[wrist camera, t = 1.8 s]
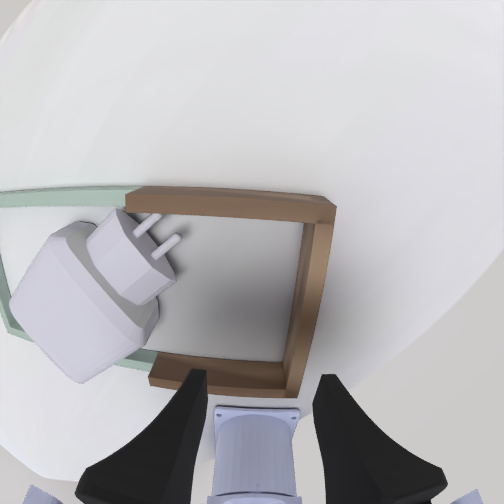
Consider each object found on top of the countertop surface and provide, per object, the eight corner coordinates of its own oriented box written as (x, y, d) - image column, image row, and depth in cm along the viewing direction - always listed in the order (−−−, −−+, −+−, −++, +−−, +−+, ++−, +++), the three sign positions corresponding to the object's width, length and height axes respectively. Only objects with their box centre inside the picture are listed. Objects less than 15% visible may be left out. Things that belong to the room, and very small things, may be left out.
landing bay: (159, 360, 21) (155, 372, 20) (15, 325, 21) (8, 332, 20) (145, 186, 17) (135, 189, 15) (-14, 193, 16) (-25, 197, 15)
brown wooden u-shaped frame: (293, 371, 22) (297, 398, 19) (159, 360, 21) (150, 385, 19) (323, 196, 17) (336, 206, 14) (145, 186, 17) (125, 194, 14)
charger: (225, 268, 19) (101, 354, 22) (137, 159, 16) (35, 279, 20) (216, 304, 14) (80, 389, 18) (101, 164, 12) (3, 304, 15)
